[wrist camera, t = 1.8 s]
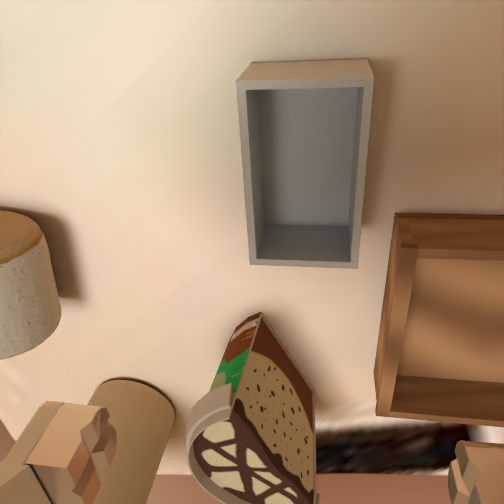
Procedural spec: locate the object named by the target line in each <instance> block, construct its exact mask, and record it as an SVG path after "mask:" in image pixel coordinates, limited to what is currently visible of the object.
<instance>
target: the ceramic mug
mask: <svg viewBox="0 0 504 504" xmlns="http://www.w3.org/2000/svg"><path fill="white" fill-rule="evenodd" d="M60 318H61V306H60V303H59V298H58V293H57V287H56V283H55V278H54V274H53V270H52V265H51V259H50V253H49V248H48V244H47V241H46V239H45V236H44V234H43V232H42V230H41V228H40V227H39V225H38V224H37V223H36V222H35V221H34V220H32V219H31V218H29V217H27V216H25V215H22V214H19V213H16V212H11V211H0V360H2V359H6V358H11V357H14V356H17V355H19V354H22V353H25V352H27V351H29V350H31V349H33V348H35V347H36V346H38V345H40V344H41V343H42V342H44V341H45V340H46V339H47V338H48V337H49V336H50V335H51V334H52V333H53V332H54V331H55V329H56V328H57V326H58V324H59V321H60Z"/></svg>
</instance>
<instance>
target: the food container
mask: <svg viewBox="0 0 504 504" xmlns="http://www.w3.org/2000/svg"><path fill="white" fill-rule="evenodd" d="M186 454H187V461H188V466H189V469H190V472H191V473H192V475H193V477H194V478H195V480H196V481H197V482H198V483H199V485H200V486H201V487H202V488H203V489H204V490H205V491H207V492H208V493H209V494H210V495H212V496H213V497H214V498H216V499H217V500H219V501H221V502H222V503H224V504H319V502H320V494H316V443H315V390H314V389H313V387H312V386H311V385H310V383H309V382H308V380H307V379H306V377H305V376H304V374H303V373H302V371H301V370H300V368H299V367H298V365H297V364H296V362H295V361H294V360H293V358H292V357H291V355H290V354H289V352H288V351H287V349H286V348H285V346H284V345H283V343H282V342H281V340H280V339H279V337H278V336H277V335H276V333H275V332H274V330H273V329H272V327H271V326H270V324H269V323H268V321H267V320H266V318H265V317H264V315H263V314H262V312H259V313H257V314H255V315H252V316H250V317H248V318H247V319H246V320H245V321H243V322H242V323H241V324H240V325H239V326H237V327H236V329H235V331H234V333H233V335H232V337H231V338H230V341H229V343H228V346H227V348H226V351H225V353H224V356H223V358H222V361H221V363H220V366H219V368H218V371H217V373H216V376H215V378H214V381H213V383H212V386H211V388H210V391H209V393H207V394H206V395H205V396H203V397H202V398H201V399H200V400H199V401H198V402H197V403H196V404H195V406H194V407H193V408H192V410H191V412H190V414H189V417H188V423H187V432H186Z"/></svg>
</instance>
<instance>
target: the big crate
mask: <svg viewBox="0 0 504 504" xmlns="http://www.w3.org/2000/svg"><path fill="white" fill-rule="evenodd" d="M374 380H375V390H376V399H377V403H376V416H384V417H395V418H406V419H417V420H428V421H440V422H451V423H462V424H473V425H485V426H496V427H504V215H458V214H403V213H395V218H394V225H393V233H392V240H391V248H390V255H389V263H388V270H387V278H386V285H385V292H384V300H383V307H382V315H381V322H380V330H379V337H378V345H377V352H376V359H375V367H374Z"/></svg>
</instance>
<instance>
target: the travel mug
mask: <svg viewBox="0 0 504 504" xmlns="http://www.w3.org/2000/svg"><path fill="white" fill-rule="evenodd" d="M88 405H90V406H99V407H107V410H108V412H109V414H110V417H109V419H108V421H107V422H108V423H110V424H111V425H112V426H113V427H114V428H115V431H116V434H117V445H116V450H115V455H114V457H113V460H112V462H111V464H110V467H109V468H107V469H106V470H105V471H104V472H102V473H101V474H100V480H101V487H100V489H99V491H98V493H97V496H96V498H95V500H94V502H93V504H146V502H147V499H148V496H149V493H150V490H151V487H152V485H153V481H154V479H155V476H156V473H157V470H158V467H159V464H160V461H161V458H162V455H163V453H164V450H165V447H166V444H167V441H168V438H169V435H170V432H171V429H172V426H173V423H174V420H175V413H174V410H173V407H172V406H171V404H170V403H169V401H168V400H167V399H166V398H165V397H164V396H163V395H162V394H160V393H159V392H157V391H156V390H154V389H152V388H151V387H149V386H146V385H144V384H141V383H138V382H134V381H129V380H113V381H108V382H105V383H103V384H101V385H100V386H99V387H98V388H97V389H96V390H95V392H94V394H93V396H92V398H91V400H90V401H89V403H88Z"/></svg>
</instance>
